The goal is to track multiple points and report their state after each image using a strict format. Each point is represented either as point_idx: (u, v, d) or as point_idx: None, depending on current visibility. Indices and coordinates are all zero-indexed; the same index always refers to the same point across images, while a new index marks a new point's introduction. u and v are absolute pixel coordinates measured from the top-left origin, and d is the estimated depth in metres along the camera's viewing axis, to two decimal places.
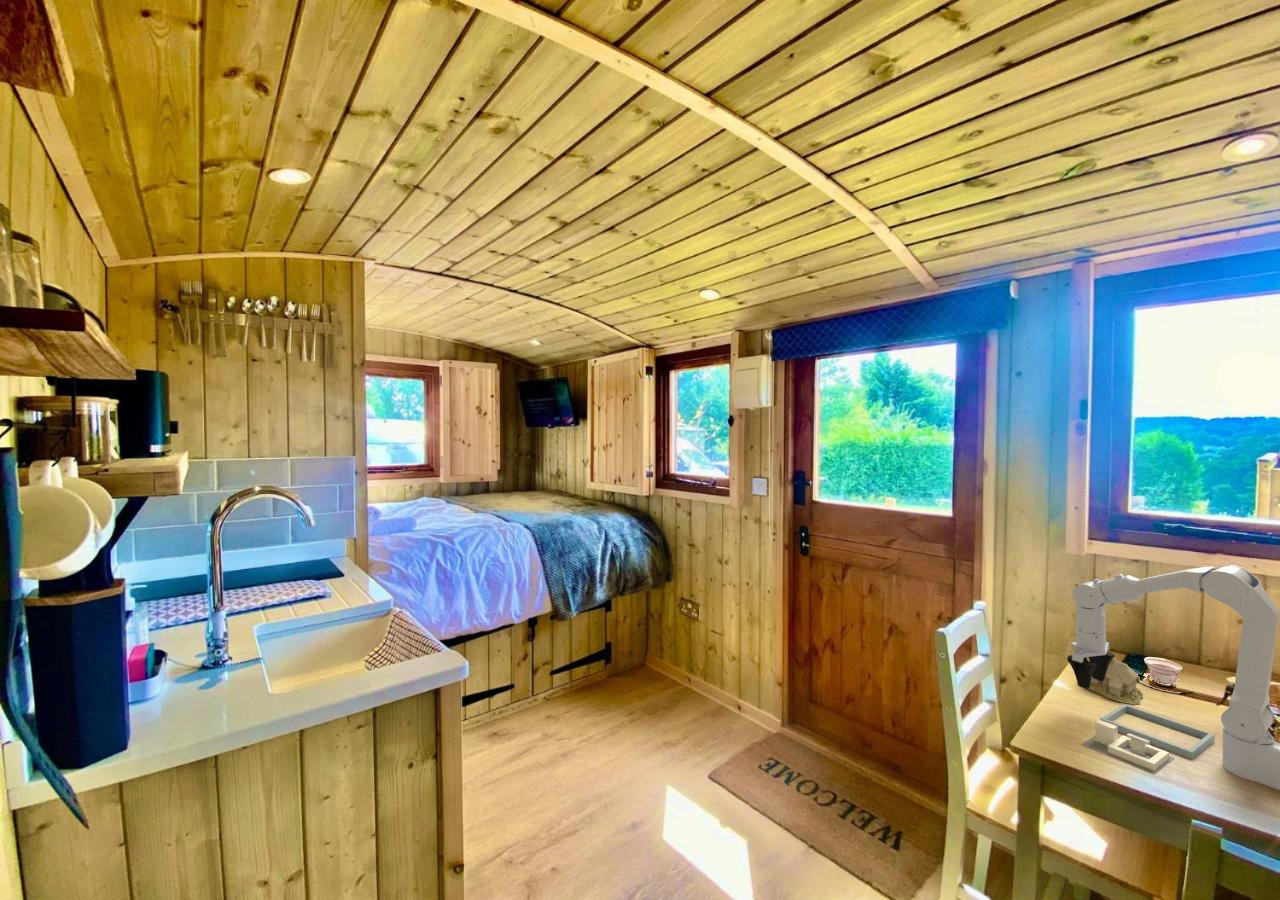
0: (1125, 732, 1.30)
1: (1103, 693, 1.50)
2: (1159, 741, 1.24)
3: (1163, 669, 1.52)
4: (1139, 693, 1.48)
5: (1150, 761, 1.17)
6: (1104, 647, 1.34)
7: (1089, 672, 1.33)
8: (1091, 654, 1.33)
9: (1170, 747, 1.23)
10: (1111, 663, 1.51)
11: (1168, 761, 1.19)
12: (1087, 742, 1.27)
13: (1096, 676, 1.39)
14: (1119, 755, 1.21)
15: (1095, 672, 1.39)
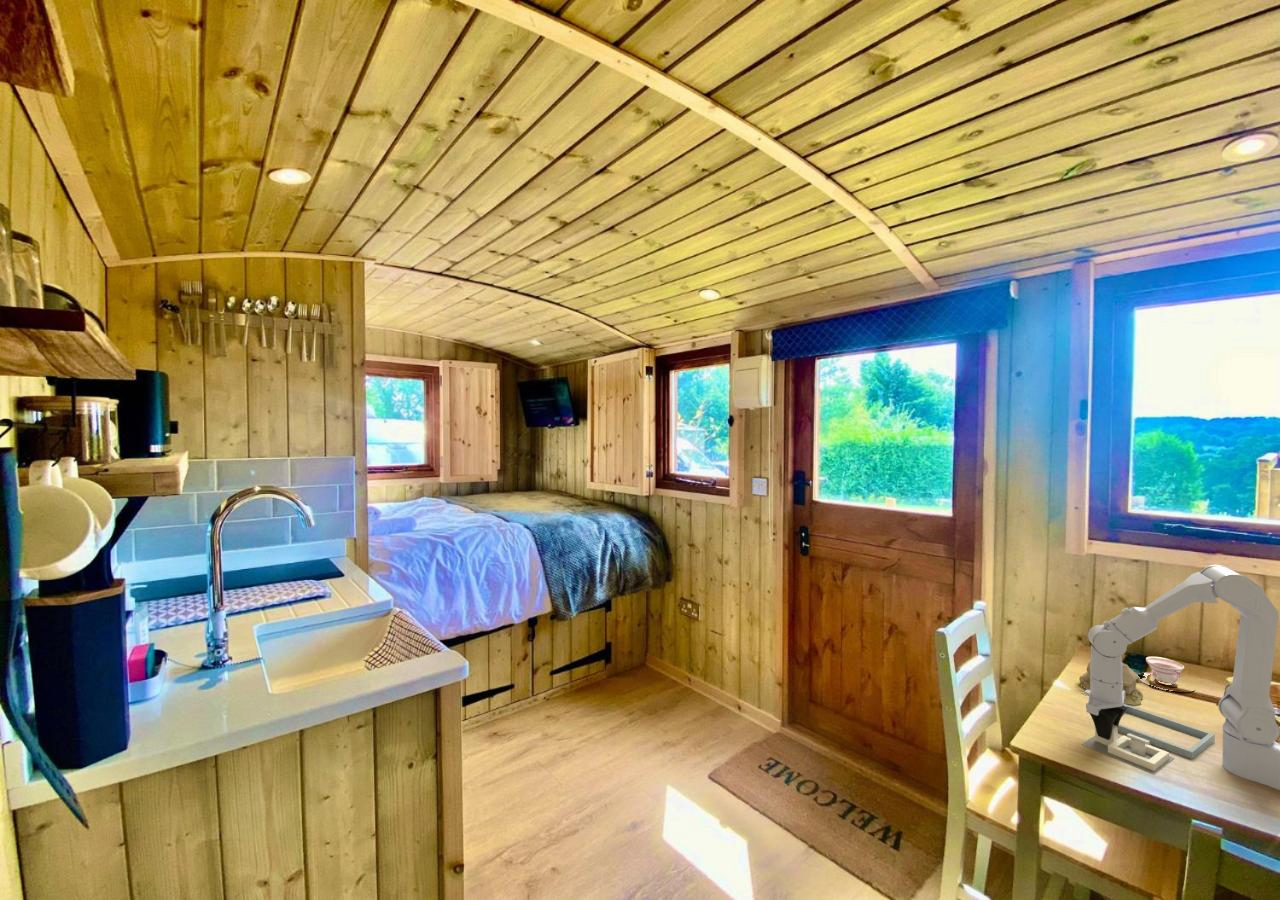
0: (1125, 732, 1.30)
1: None
2: (1159, 741, 1.24)
3: (1165, 669, 1.53)
4: (1139, 694, 1.48)
5: (1150, 761, 1.17)
6: (1121, 698, 1.23)
7: (1110, 722, 1.23)
8: (1107, 706, 1.22)
9: (1170, 747, 1.23)
10: None
11: (1168, 761, 1.19)
12: (1087, 742, 1.27)
13: None
14: (1119, 755, 1.21)
15: None
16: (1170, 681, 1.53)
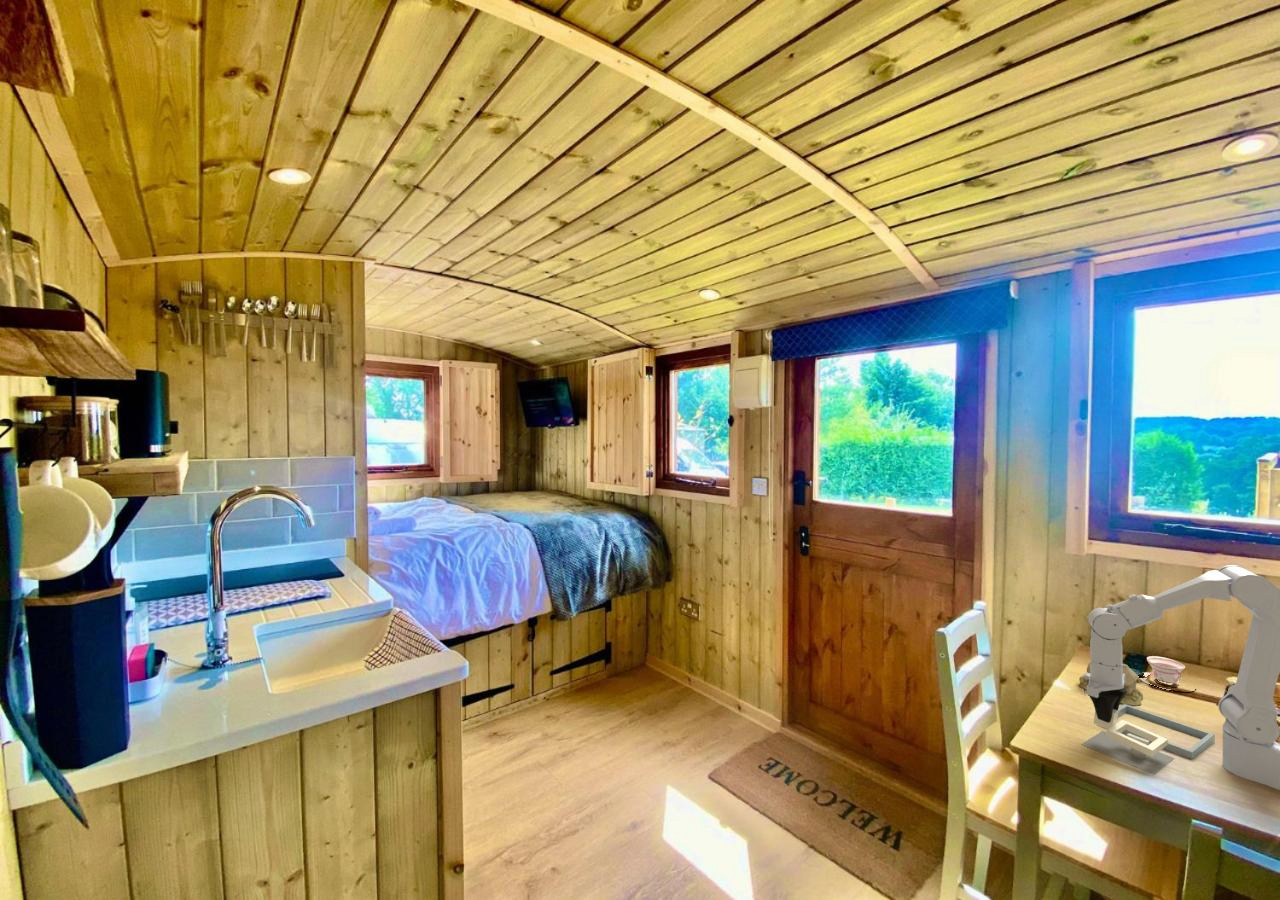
0: (1125, 732, 1.30)
1: None
2: None
3: (1166, 668, 1.53)
4: (1139, 694, 1.48)
5: (1149, 747, 1.17)
6: (1121, 680, 1.23)
7: (1110, 705, 1.23)
8: (1107, 688, 1.22)
9: (1170, 747, 1.23)
10: None
11: (1168, 761, 1.19)
12: (1087, 742, 1.27)
13: None
14: (1117, 739, 1.21)
15: None
16: (1171, 681, 1.53)
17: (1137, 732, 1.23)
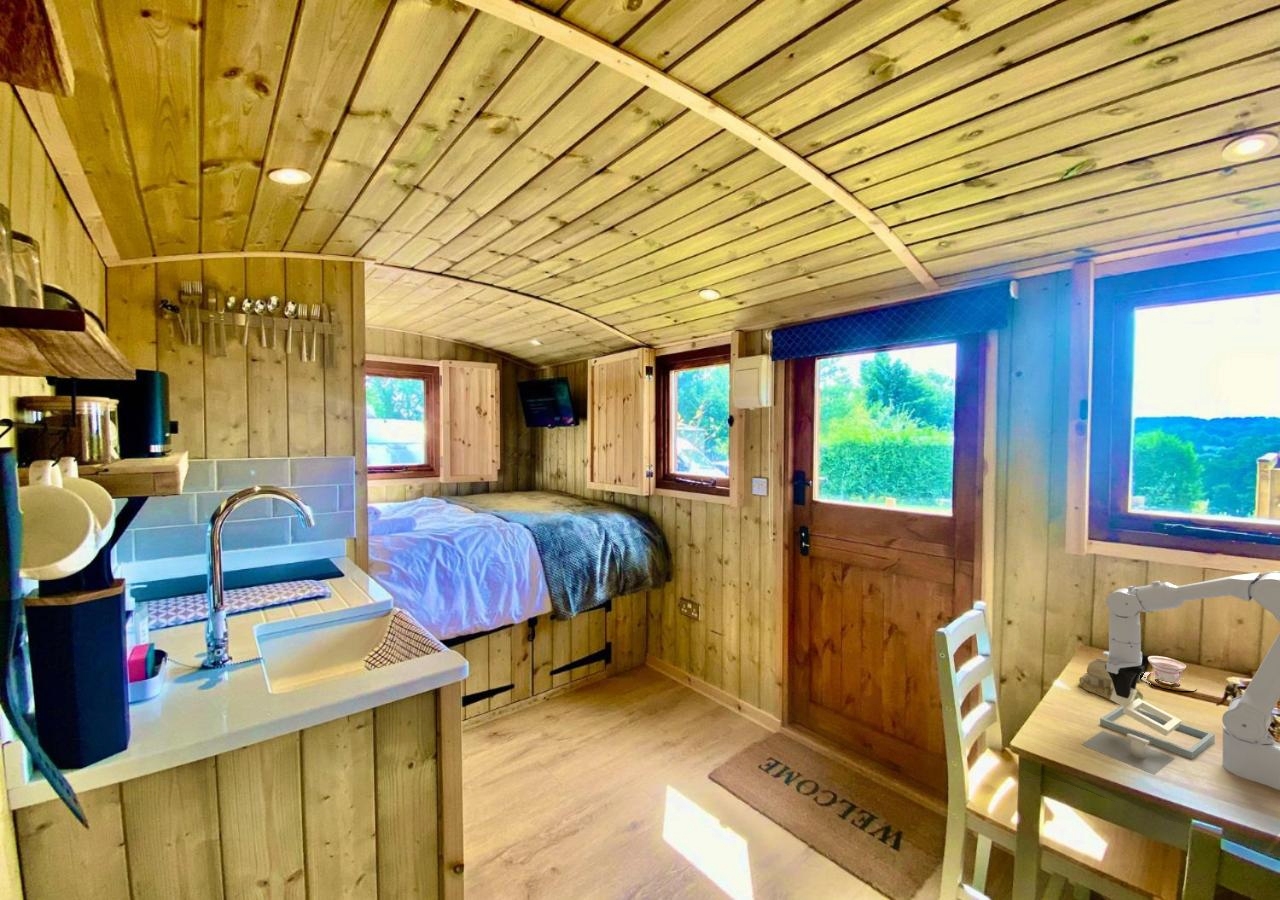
0: (1125, 732, 1.30)
1: (1105, 695, 1.48)
2: (1159, 741, 1.24)
3: (1167, 668, 1.53)
4: (1139, 694, 1.47)
5: (1164, 727, 1.22)
6: (1139, 657, 1.28)
7: (1129, 681, 1.28)
8: (1126, 665, 1.27)
9: (1170, 747, 1.23)
10: None
11: (1168, 761, 1.19)
12: (1087, 742, 1.27)
13: None
14: (1133, 717, 1.26)
15: None
16: (1172, 680, 1.54)
17: (1152, 711, 1.28)
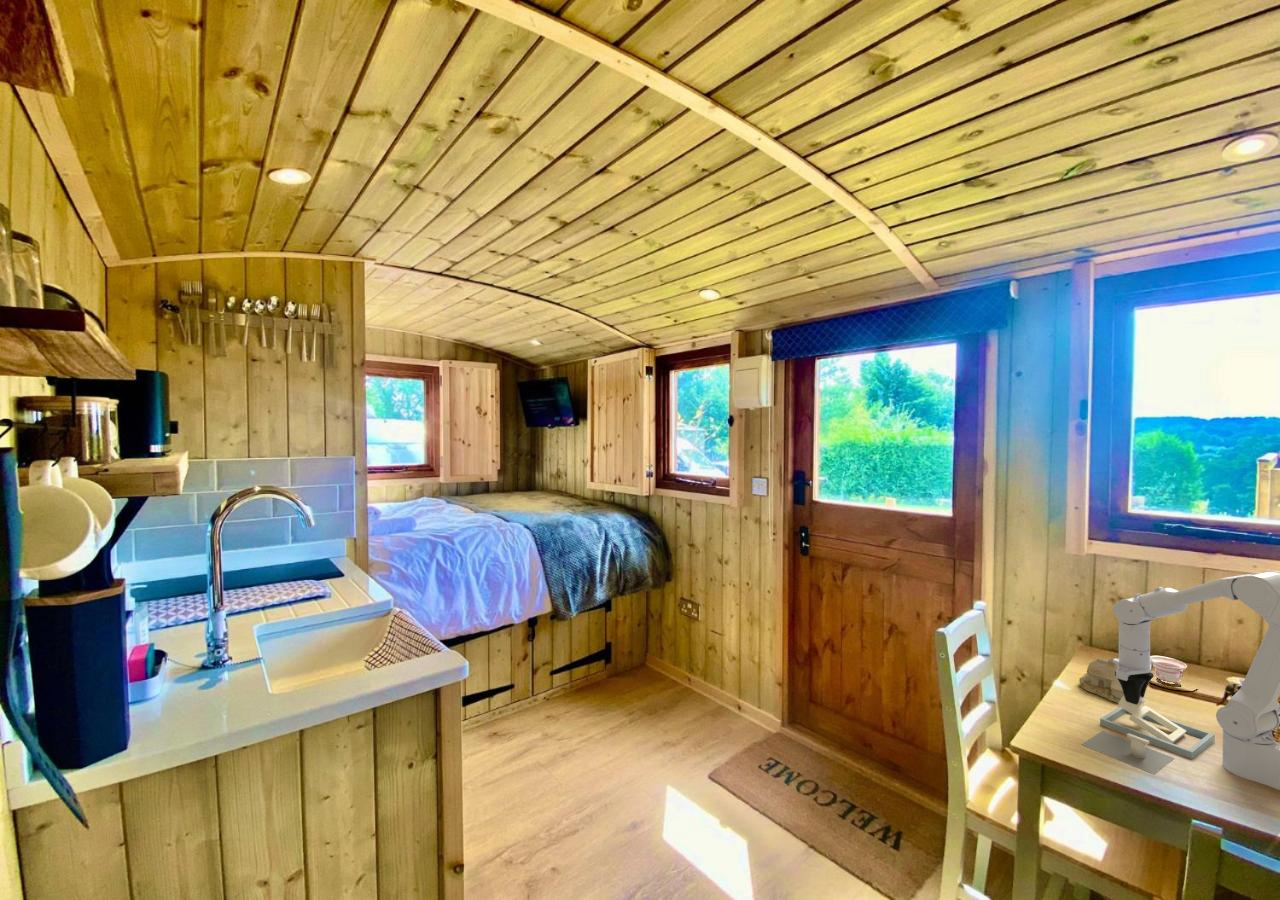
0: (1125, 732, 1.30)
1: (1105, 695, 1.48)
2: (1159, 741, 1.24)
3: (1168, 668, 1.53)
4: None
5: (1169, 737, 1.25)
6: (1149, 664, 1.30)
7: (1138, 688, 1.30)
8: (1136, 672, 1.30)
9: (1170, 747, 1.23)
10: (1112, 665, 1.50)
11: (1168, 761, 1.19)
12: (1087, 742, 1.27)
13: None
14: (1139, 724, 1.29)
15: None
16: (1173, 680, 1.54)
17: (1158, 719, 1.32)
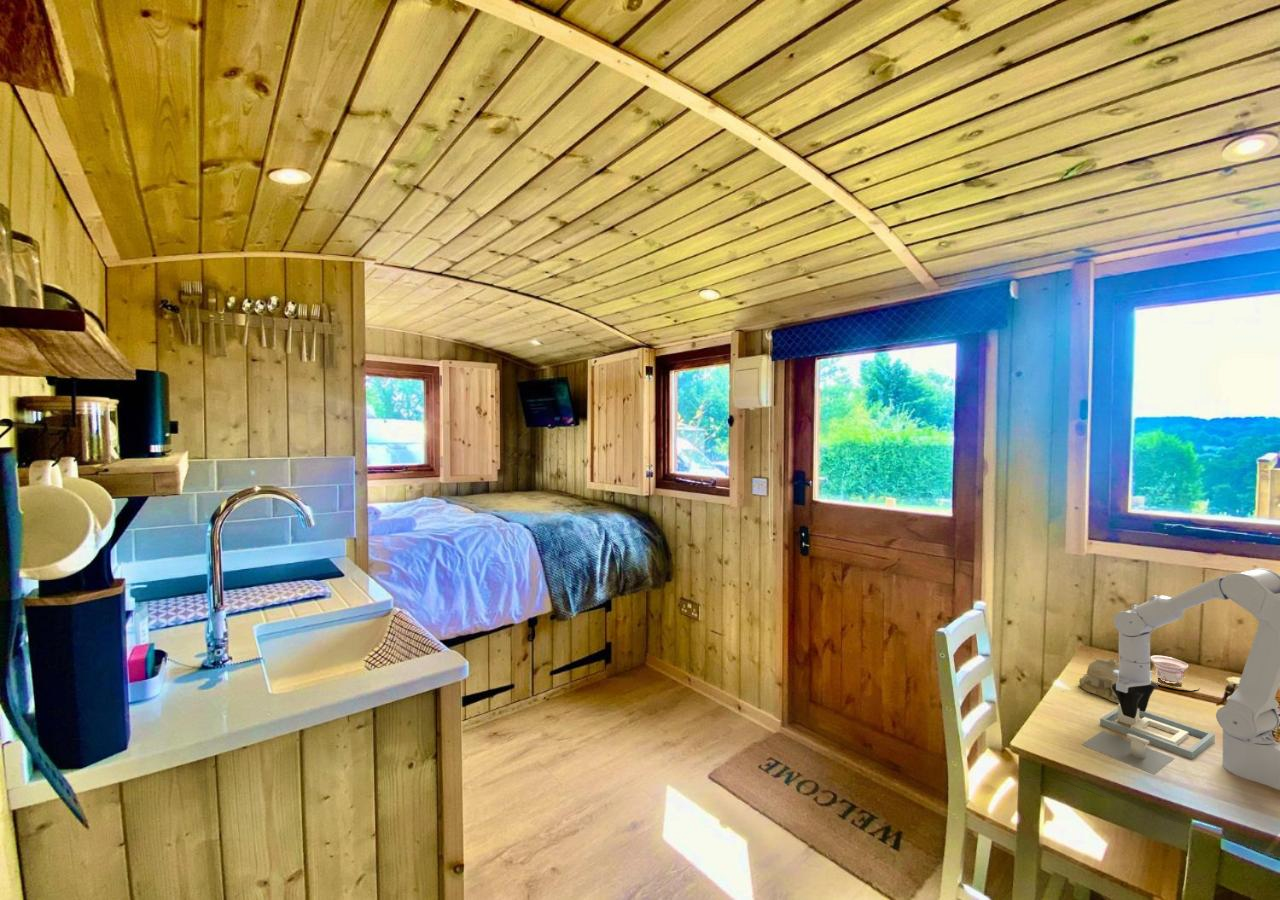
0: (1125, 732, 1.30)
1: (1106, 696, 1.48)
2: (1159, 741, 1.24)
3: (1169, 667, 1.54)
4: None
5: (1171, 739, 1.25)
6: (1149, 677, 1.31)
7: (1135, 702, 1.30)
8: (1136, 684, 1.30)
9: (1170, 747, 1.23)
10: (1112, 665, 1.50)
11: (1168, 761, 1.19)
12: (1087, 742, 1.27)
13: None
14: None
15: None
16: (1174, 680, 1.54)
17: (1159, 727, 1.31)
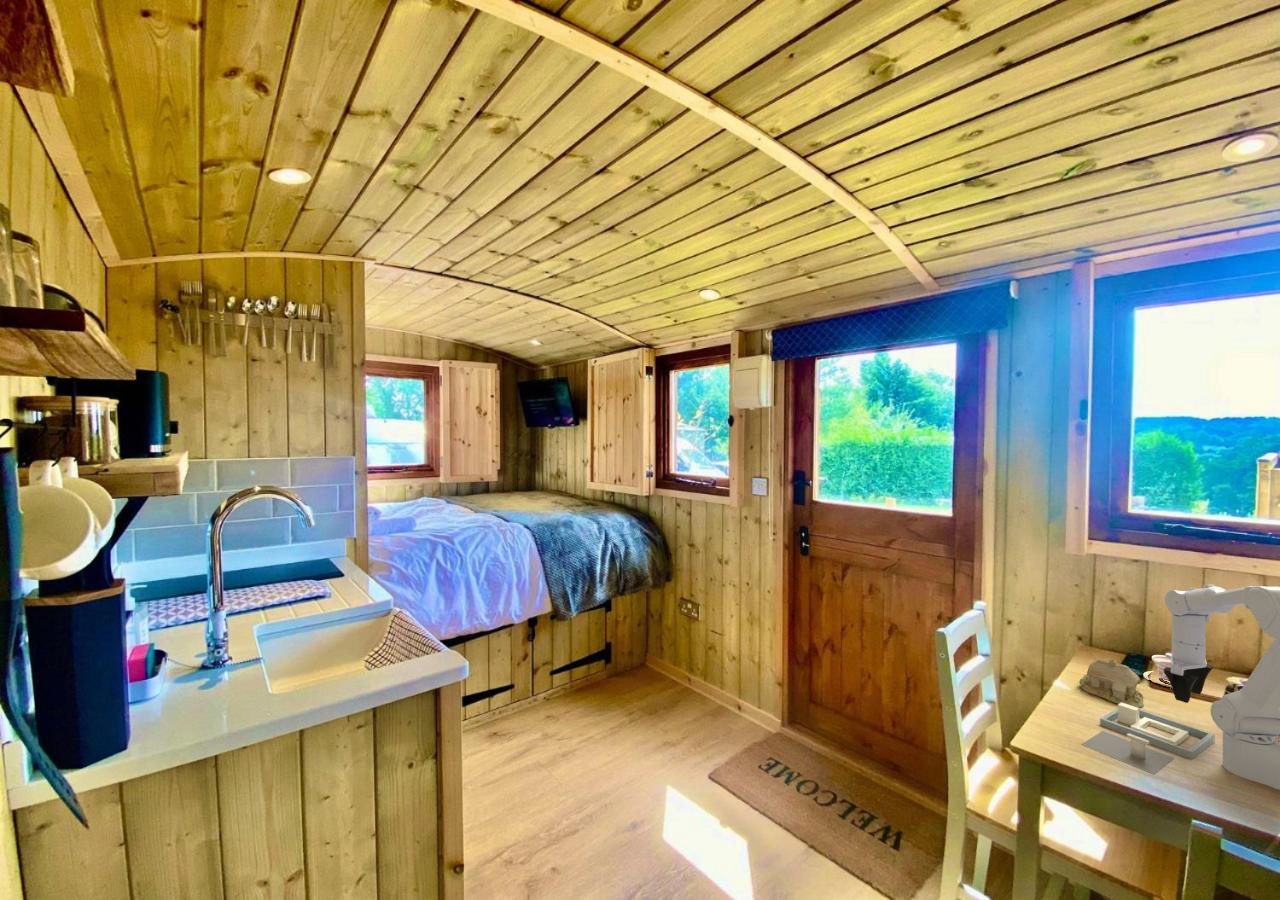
0: (1125, 732, 1.30)
1: (1106, 697, 1.47)
2: (1159, 741, 1.24)
3: (1170, 667, 1.54)
4: (1140, 695, 1.47)
5: (1171, 739, 1.25)
6: (1204, 659, 1.27)
7: (1190, 685, 1.26)
8: (1191, 666, 1.26)
9: (1170, 747, 1.23)
10: (1112, 666, 1.49)
11: (1168, 761, 1.19)
12: (1087, 742, 1.27)
13: (1192, 689, 1.32)
14: None
15: None
16: None
17: (1159, 727, 1.31)
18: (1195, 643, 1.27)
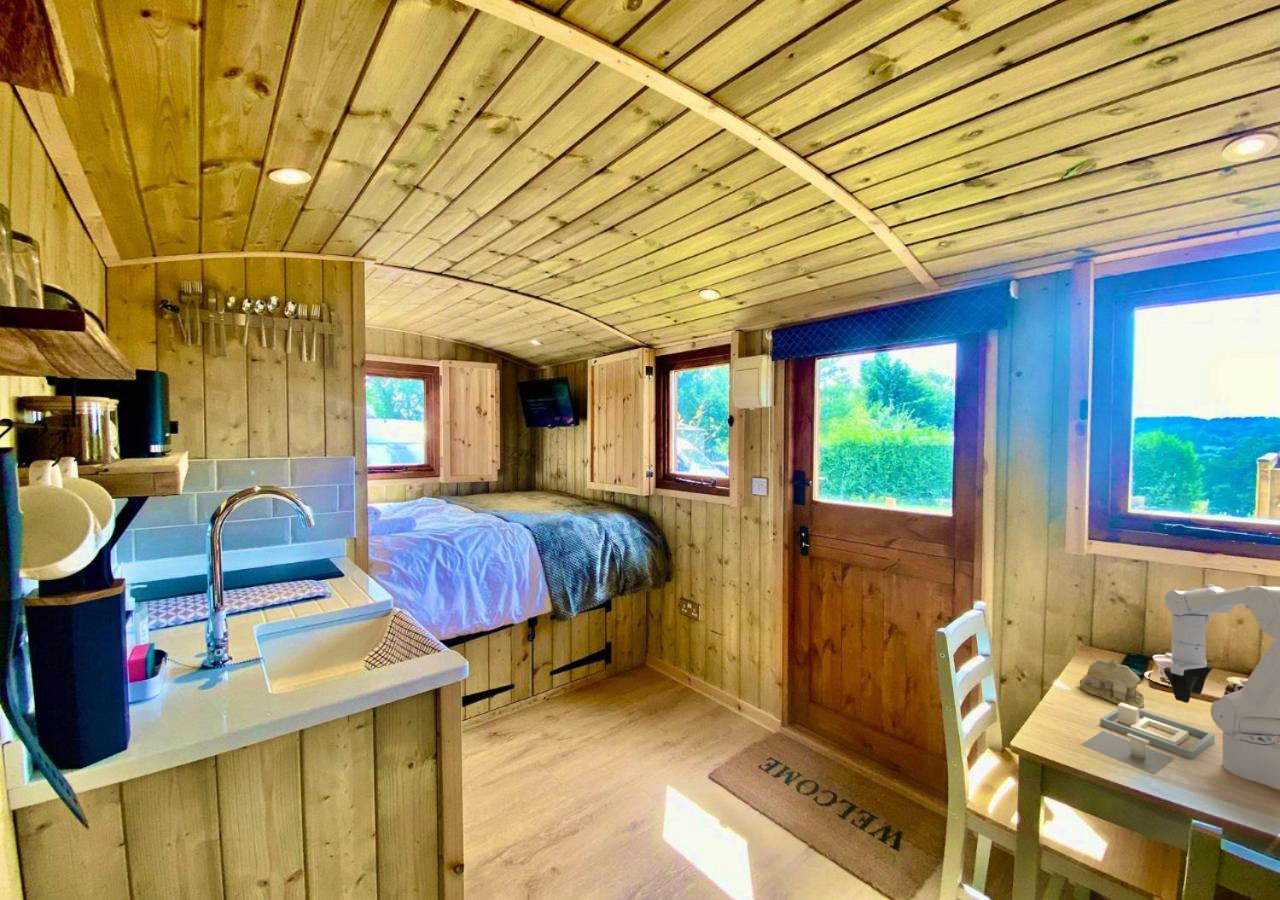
0: (1125, 732, 1.30)
1: (1107, 697, 1.47)
2: (1159, 741, 1.24)
3: None
4: (1140, 695, 1.47)
5: (1171, 739, 1.25)
6: (1204, 659, 1.27)
7: (1190, 685, 1.26)
8: (1191, 666, 1.26)
9: (1170, 747, 1.23)
10: (1113, 666, 1.49)
11: (1168, 761, 1.19)
12: (1087, 742, 1.27)
13: (1192, 689, 1.32)
14: None
15: None
16: None
17: (1159, 727, 1.31)
18: (1195, 643, 1.27)
